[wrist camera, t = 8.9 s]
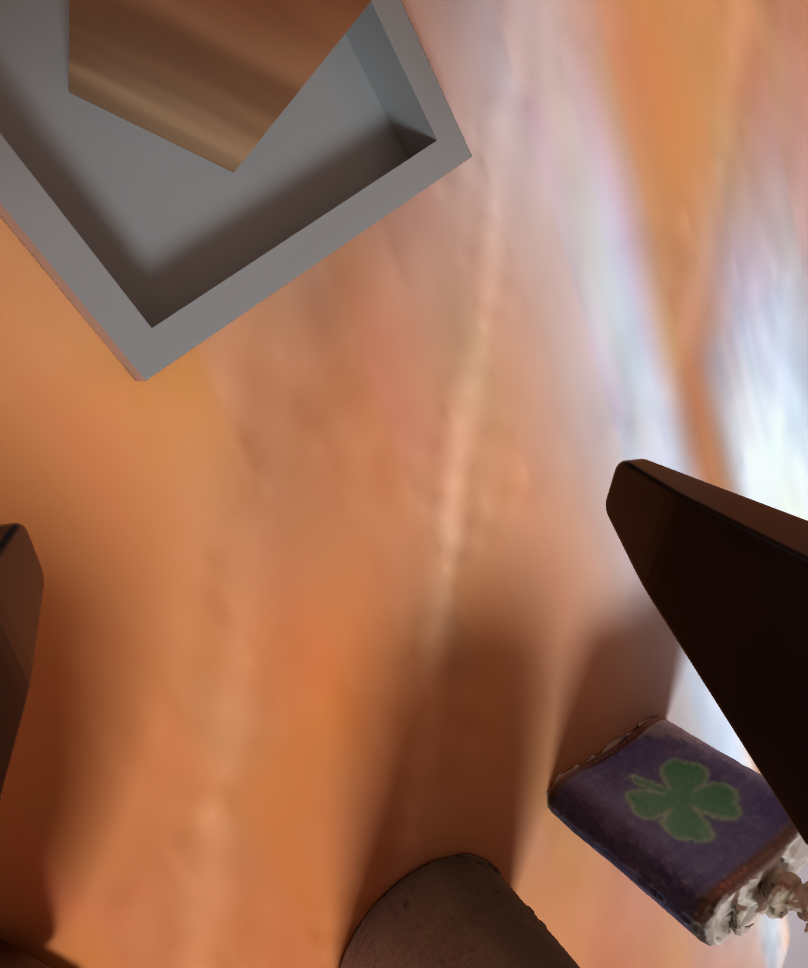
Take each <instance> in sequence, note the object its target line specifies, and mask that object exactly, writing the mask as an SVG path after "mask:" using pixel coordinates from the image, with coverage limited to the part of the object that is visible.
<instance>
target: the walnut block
mask: <svg viewBox="0 0 808 968" xmlns="http://www.w3.org/2000/svg"><path fill="white" fill-rule="evenodd" d="M371 1H372V0H69V93H71V94H73V95H75V96H77V97H79V98H81V99H83V100H85V101H87V102H89V103H91V104H94V105H96V106H98V107H100V108H102V109H104V110H106V111H108V112H110V113H112V114H114V115H116V116H118V117H120V118H122V119H124V120H126V121H128V122H130V123H132V124H134V125H137V126H139V127H141V128H143V129H145V130H147V131H149V132H151V133H153V134H155V135H157V136H159V137H161V138H163V139H165V140H167V141H169V142H171V143H173V144H175V145H177V146H180V147H182V148H184V149H186V150H188V151H190V152H192V153H194V154H196V155H198V156H200V157H202V158H204V159H206V160H208V161H210V162H212V163H214V164H216V165H218V166H221V167H223V168H225V169H227V170H229V171H231V172H233V173H234V172H235V171H236V169H237V168H238V167H239V166H240V164H241V163H242V162H243V161H244V159H245V158H246V157H247V156H248V154H249V153H250V152H251V151H252V149H253V148H254V147H255V146H256V144H257V143H258V142H259V141H260V139H261V138H262V137H263V136H264V134H265V133H266V132H267V131H268V129H269V128H270V127H271V126H272V124H273V123H274V122H275V121H276V119H277V118H278V117H279V116H280V114H281V113H282V112H283V111H284V109H285V108H286V107H287V106H288V104H289V103H290V102H291V101H292V99H293V98H294V97H295V96H296V94H297V93H298V92H299V91H300V89H301V88H302V87H303V86H304V84H305V83H306V82H307V81H308V79H309V78H310V77H311V76H312V74H313V73H314V72H315V71H316V69H317V68H318V67H319V66H320V64H321V63H322V62H323V61H324V59H325V58H326V57H327V56H328V54H329V53H330V52H331V51H332V49H333V48H334V47H335V46H336V44H337V43H338V42H339V41H340V39H341V38H342V37H343V36H344V34H345V33H346V32H347V31H348V29H349V28H350V27H351V26H352V24H353V23H354V22H355V21H356V19H357V18H358V17H359V16H360V14H361V13H362V12H363V11H364V9H365V8H366V7H367V6H368V4H369V3H370V2H371Z"/></svg>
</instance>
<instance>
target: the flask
mask: <svg viewBox="0 0 808 968" xmlns="http://www.w3.org/2000/svg"><path fill="white" fill-rule="evenodd" d="M638 726H639V728H636V729H635V730H633V731H631V732H629V733H628V734H625V735H624V736H620V737H619V738H617V739H614V740H613V741H612V742H611V743H608V744H607V746H605V749H603V751H602V752H601V754H599V755H598V756H594V755H593V754H592V755H591V757H590V758H589V759H588V760H587V762H585V763H584V764H582V765H577V764H576V766H575V767H574V768H572V770H568V771H567V772H565V773H563V774H560V775H558V776H557V778H556V779H555V781H554V782H553V785H552V786H551V787H550V789H549V791H548V792H547V793H546V795H547V806H548V808H549V810H550V811H551V813H553V814H554V815H555V816H556V817H558V818H559V819H560V820H561V821H562V822H563V823H564V824H565V825H566V826H567V827H569V828H570V829H571V830H572V831H573V832H574V833H575V834H576V835H578V836H579V837H580V838H581V839H582V840H584V841H585V842H586V843H588V844H589V845H590V846H591V847H592V848H593V849H595V850H596V851H597V852H598V853H599V854H600V855H602V856H603V857H605V858H606V859H607V860H609V861H610V862H611V863H612V864H613V865H614V866H615V867H617V868H618V869H619V870H620V871H621V872H622V873H624V874H625V875H626V876H627V877H628V878H629V879H630V880H631V881H633V882H634V883H635V884H636V885H637V886H638V887H639V888H640V889H641V890H643V891H644V892H645V893H646V894H647V895H649V896H650V897H651V898H652V899H654V900H655V901H656V902H657V903H658V904H659V905H660V906H661V907H663V908H664V909H665V910H666V911H667V912H668V913H669V914H671V915H672V916H673V917H674V918H675V919H676V920H677V921H678V922H680V923H681V924H682V925H683V926H684V927H685V928H687V929H688V930H689V931H690V932H691V933H692V934H693V935H695V936H696V937H697V938H698V939H699V940H700V941H702V942H704V943H706V944H707V945H709V946H712V945H721V944H722V943H723V942H724V941H726V940H727V939H728V938H729V937H730V936H731V935H732V934H734V933H735V935H739V936H741V935H743V934H745V933H746V932H748V931H749V930H750V929H751V927H752V926H753V925H754V923H753V924H751V925H749V926H745V925H747V924H748V923H749V922H750V921H751V920H752V919H753V918H754V917H755V916H756V915H762V914H765V913H766V915H767V916H768V917H769V918H770V919H774V918H780V919H782V918H783V917H784V916H785V915H786V914H787V913H788V912H789V911H790V910H793V911H796V912H797V915H798V917H799V918H800V919H802V920H804V921H807V922H808V881H807V882H806V883H805V884H802V882H801V879H800V878H799V877H798V876H797V875H796V874H797V873H798V871H799V870H800V869H801V868H802V867H803V865H804V864H805V863H806V862H807V861H808V845H807V844H806V843H805V842H804V840H803V839H802V837H801V836H800V834H799V832H798V831H797V829H796V828H795V826H794V825H793V823H792V821H791V820H790V818H789V817H788V815H787V813H786V812H785V810H784V809H783V807H782V806H781V804H780V802H779V801H778V799H777V798H776V796H775V794H774V793H773V791H772V790H771V788H770V787H769V785H768V783H767V782H766V780H765V779H764V777H763V775H761V774H759V773H757V772H755V771H753V770H752V769H750V768H748V767H746V766H744V765H742V764H740V763H739V762H737V761H736V760H734V759H733V758H731V757H729V756H727V755H725V754H723V753H721V752H720V751H718V750H716V749H715V748H713V747H711V746H710V745H708V744H706V743H705V742H703V741H701V740H700V739H698V738H696V737H694V736H693V735H691V734H689V733H687V732H686V731H685V730H683V729H682V728H680V727H678V726H676V725H675V724H673V723H671V722H669V721H668V720H666V719H664V718H661V717H656V718H649V719H647V720H644V721H642V722H641V723H639V724H638ZM804 932H805V933H807V934H808V923H807V924H806V928H805V930H804Z"/></svg>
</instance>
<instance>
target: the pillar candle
mask: <svg viewBox="0 0 808 968" xmlns="http://www.w3.org/2000/svg"><path fill="white" fill-rule="evenodd" d="M340 968H580V967H579V966H578V965H577V963H576V962H575V961H574V960H573V959H572V958H571V957H570V955H569V954H568V953H567V952H566V950H565V949H564V948H563V947H562V946H561V945H560V944H559V942H558V941H557V940H556V939H555V937H554V936H553V935H552V934H551V933H550V932H549V931H548V930H547V927H546V925H545V924H544V923H543V922H542V921H541V920H539V919H538V918H537V916H536V915H535V913H534V911H533V910H532V909H531V908H530V907H529V906H527V905H526V904H524V902H523V901H522V900H521V899H520V898H519V896H518V895H517V894H516V893H515V892H514V890H513V889H512V888H511V887H510V886H509V885H508V884H507V883H506V882H505V881H504V879H503V878H502V877H501V873H500V871H499V870H498V869H497V868H496V867H495V866H494V865H493V864H492V863H491V862H488V861H487V860H484V859H482V858H481V857H478V856H474V855H469V854H462V855H456V856H449V857H446V858H443V859H439V860H436V861H434V862H431V863H429V864H428V865H426V866H424V867H422V868H419V869H417V870H416V871H414V872H413V873H411V874H409V875H408V876H407V877H405V878H404V879H403V880H401V881H400V882H399V883H397V884H396V885H395V886H394V887H393V888H391V889H390V891H388V892H387V894H386V895H385V896H384V897H382V898H381V899H380V900H378V902H377V903H376V904H375V905H374V907H373V908H372V909H371V910H370V911H369V912H368V914H367V915H366V917H365V918H364V919H363V920H362V923H361V924H360V926H359V928H358V929H357V930H356V931H355V933H354V936H353V938H352V940H351V942H350V944H349V945H348V947H347V949H346V952H345V954H344V957H343V960H342V963H341V965H340Z"/></svg>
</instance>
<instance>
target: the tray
mask: <svg viewBox="0 0 808 968" xmlns="http://www.w3.org/2000/svg"><path fill="white" fill-rule="evenodd" d="M471 157H472V155H471V153H470V151H469V148H468V146H467V144H466V142H465V140H464V137H463V135H462V133H461V131H460V129H459V127H458V124H457V122H456V120H455V118H454V116H453V113H452V111H451V109H450V107H449V105H448V102H447V100H446V98H445V96H444V94H443V91H442V89H441V87H440V85H439V83H438V81H437V78H436V76H435V74H434V72H433V70H432V67H431V65H430V63H429V61H428V59H427V56H426V54H425V52H424V50H423V48H422V45H421V43H420V41H419V39H418V37H417V35H416V32H415V30H414V28H413V26H412V24H411V21H410V19H409V17H408V15H407V13H406V10H405V8H404V6H403V4H402V2H401V0H372V1H371V2H370V3H369V4H368V6H367V7H366V8H365V9H364V11H363V12H362V13H361V14H360V16H359V17H358V18H357V19H356V21H355V22H354V23H353V24H352V26H351V27H350V28H349V29H348V31H347V32H346V33H345V34H344V36H343V37H342V38H341V39H340V41H339V42H338V43H337V44H336V46H335V47H334V48H333V49H332V51H331V52H330V53H329V54H328V56H327V57H326V58H325V59H324V61H323V62H322V63H321V64H320V66H319V67H318V68H317V69H316V71H315V72H314V73H313V74H312V76H311V77H310V78H309V79H308V81H307V82H306V83H305V84H304V86H303V87H302V88H301V89H300V91H299V92H298V93H297V94H296V96H295V97H294V98H293V99H292V101H291V102H290V103H289V104H288V106H287V107H286V108H285V109H284V111H283V112H282V113H281V114H280V116H279V117H278V118H277V119H276V121H275V122H274V123H273V124H272V126H271V127H270V128H269V129H268V131H267V132H266V133H265V134H264V136H263V137H262V138H261V139H260V141H259V142H258V143H257V144H256V146H255V147H254V148H253V149H252V151H251V152H250V153H249V154H248V156H247V157H246V158H245V159H244V161H243V162H242V163H241V164H240V166H239V167H238V168H237V169H236V171H235V172H234V173H233V172H231V171H229V170H227V169H225V168H223V167H221V166H218V165H216V164H214V163H212V162H210V161H208V160H206V159H204V158H202V157H200V156H198V155H196V154H194V153H192V152H190V151H188V150H186V149H184V148H182V147H180V146H177V145H175V144H173V143H171V142H169V141H167V140H165V139H163V138H161V137H159V136H157V135H155V134H153V133H151V132H149V131H147V130H145V129H143V128H141V127H139V126H137V125H134V124H132V123H130V122H128V121H126V120H124V119H122V118H120V117H118V116H116V115H114V114H112V113H110V112H108V111H106V110H104V109H102V108H100V107H98V106H96V105H94V104H91V103H89V102H87V101H85V100H83V99H81V98H79V97H77V96H75V95H73V94H71V93H69V0H0V217H1V218H2V219H3V221H4V222H5V223H6V224H7V225H8V227H9V228H10V229H11V230H12V231H13V233H14V234H15V235H16V236H17V237H18V239H19V240H20V241H21V242H22V244H23V245H24V246H25V247H26V248H27V250H28V251H29V252H30V253H31V254H32V256H33V257H34V258H35V259H36V261H37V262H38V263H39V264H40V265H41V267H42V268H43V269H44V270H45V271H46V273H47V274H48V275H49V276H50V277H51V279H52V280H53V281H54V282H55V284H56V285H57V286H58V287H59V288H60V290H61V291H62V292H63V293H64V294H65V296H66V297H67V298H68V299H69V301H70V302H71V303H72V304H73V305H74V307H75V308H76V309H77V310H78V311H79V313H80V314H81V315H82V316H83V317H84V319H85V320H86V321H87V322H88V324H89V325H90V326H91V327H92V328H93V330H94V331H95V332H96V333H97V334H98V336H99V337H100V338H101V339H102V341H103V342H104V343H105V344H106V345H107V347H108V348H109V349H110V350H111V351H112V353H113V354H114V355H115V356H116V357H117V359H118V360H119V361H120V362H121V364H122V365H123V366H124V367H125V368H126V370H127V371H128V372H129V373H130V374H131V376H132V377H133V378H134V379H135V380H136V381H146V380H148V379H149V378H150V377H152V376H153V375H155V374H156V373H158V372H159V371H161V370H162V369H164V368H165V367H166V366H168V365H169V364H171V363H172V362H174V361H175V360H177V359H178V358H180V357H181V356H182V355H184V354H185V353H187V352H188V351H190V350H191V349H193V348H194V347H196V346H197V345H198V344H200V343H201V342H203V341H204V340H206V339H207V338H209V337H210V336H212V335H213V334H214V333H216V332H217V331H219V330H220V329H222V328H223V327H225V326H226V325H228V324H229V323H230V322H232V321H233V320H235V319H236V318H238V317H239V316H241V315H242V314H244V313H245V312H246V311H248V310H249V309H251V308H252V307H254V306H255V305H257V304H258V303H260V302H261V301H262V300H264V299H265V298H267V297H268V296H270V295H271V294H273V293H274V292H276V291H277V290H279V289H280V288H281V287H283V286H284V285H286V284H287V283H289V282H290V281H292V280H293V279H295V278H296V277H297V276H299V275H300V274H302V273H303V272H305V271H306V270H308V269H309V268H311V267H312V266H313V265H315V264H316V263H318V262H319V261H321V260H322V259H324V258H325V257H327V256H328V255H329V254H331V253H332V252H334V251H335V250H337V249H338V248H340V247H341V246H343V245H344V244H345V243H347V242H348V241H350V240H351V239H353V238H354V237H356V236H357V235H359V234H360V233H361V232H363V231H364V230H366V229H367V228H369V227H370V226H372V225H373V224H375V223H376V222H377V221H379V220H380V219H382V218H383V217H385V216H386V215H388V214H389V213H391V212H392V211H393V210H395V209H396V208H398V207H399V206H401V205H402V204H404V203H405V202H407V201H408V200H409V199H411V198H412V197H414V196H415V195H417V194H418V193H420V192H421V191H423V190H424V189H425V188H427V187H428V186H430V185H431V184H433V183H434V182H436V181H437V180H439V179H440V178H441V177H443V176H444V175H446V174H447V173H449V172H450V171H452V170H453V169H455V168H456V167H457V166H459V165H460V164H462V163H463V162H465V161H466V160H468V159H469V158H471Z"/></svg>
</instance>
